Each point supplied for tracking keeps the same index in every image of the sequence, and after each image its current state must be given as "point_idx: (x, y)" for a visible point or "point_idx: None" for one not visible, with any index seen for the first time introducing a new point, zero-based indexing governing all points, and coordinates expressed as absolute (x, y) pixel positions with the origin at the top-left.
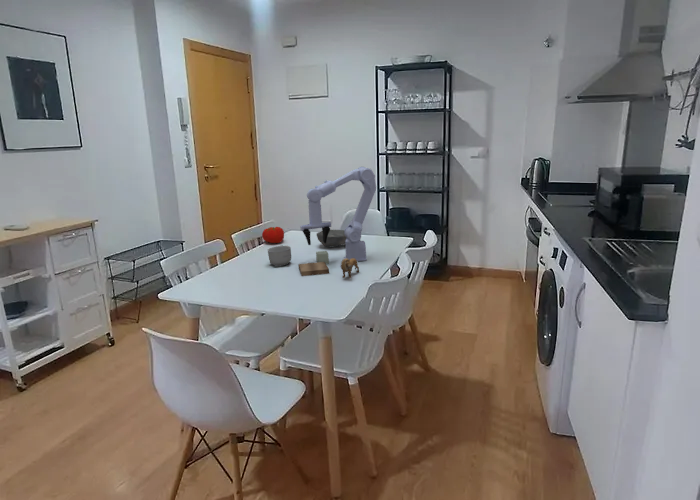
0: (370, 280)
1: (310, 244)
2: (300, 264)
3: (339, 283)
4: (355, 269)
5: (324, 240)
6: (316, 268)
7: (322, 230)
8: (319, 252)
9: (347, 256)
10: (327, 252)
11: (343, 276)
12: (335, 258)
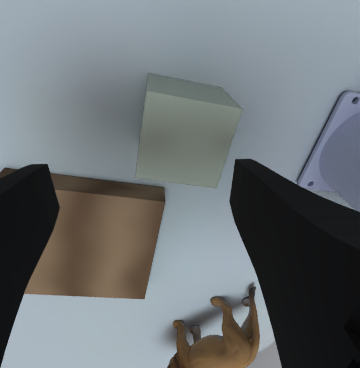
0: None
1: (55, 214)
2: None
3: (143, 352)
4: (250, 293)
5: (238, 210)
6: (91, 278)
7: (322, 245)
8: (166, 134)
9: (330, 174)
10: (223, 164)
11: (176, 327)
12: (298, 62)
